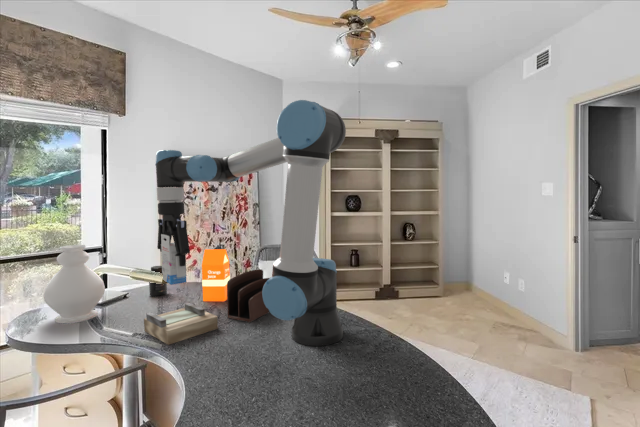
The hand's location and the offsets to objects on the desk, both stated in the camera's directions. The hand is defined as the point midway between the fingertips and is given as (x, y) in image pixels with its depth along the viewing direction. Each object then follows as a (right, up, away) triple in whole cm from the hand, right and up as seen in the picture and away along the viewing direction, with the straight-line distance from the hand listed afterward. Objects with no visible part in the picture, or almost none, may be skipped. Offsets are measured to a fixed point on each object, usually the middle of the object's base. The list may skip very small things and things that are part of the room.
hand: (174, 274), depth 115 cm
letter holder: (+23, -17, +18) cm, 33 cm away
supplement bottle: (-23, -16, +41) cm, 49 cm away
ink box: (0, -2, 0) cm, 2 cm away
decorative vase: (-40, -18, +15) cm, 46 cm away
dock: (+2, -18, +1) cm, 18 cm away
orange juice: (+4, -16, +34) cm, 38 cm away
